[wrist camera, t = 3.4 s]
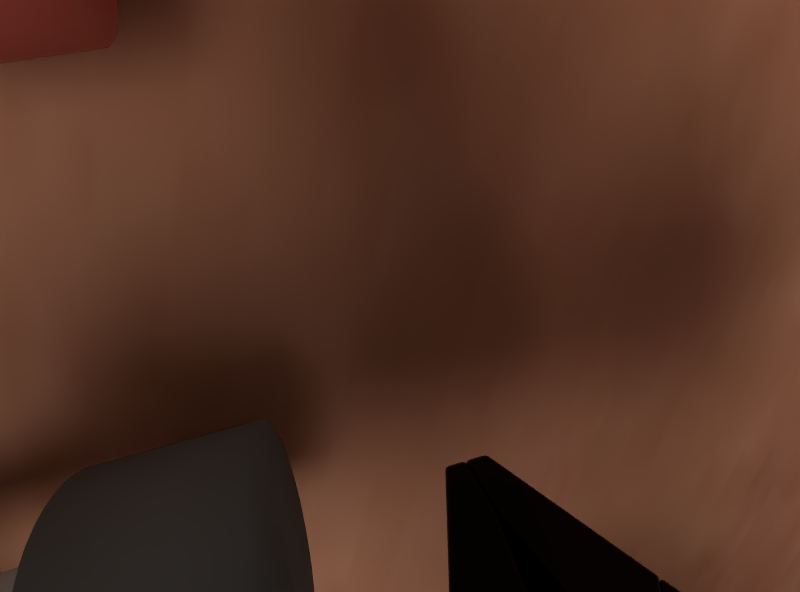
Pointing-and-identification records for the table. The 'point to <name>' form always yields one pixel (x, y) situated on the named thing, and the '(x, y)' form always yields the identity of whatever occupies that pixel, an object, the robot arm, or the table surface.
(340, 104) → the table surface
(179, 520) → the black knob
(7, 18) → the red knob
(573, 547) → the robot arm
